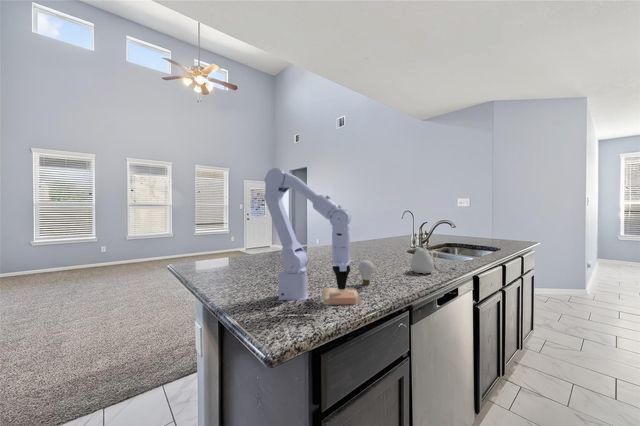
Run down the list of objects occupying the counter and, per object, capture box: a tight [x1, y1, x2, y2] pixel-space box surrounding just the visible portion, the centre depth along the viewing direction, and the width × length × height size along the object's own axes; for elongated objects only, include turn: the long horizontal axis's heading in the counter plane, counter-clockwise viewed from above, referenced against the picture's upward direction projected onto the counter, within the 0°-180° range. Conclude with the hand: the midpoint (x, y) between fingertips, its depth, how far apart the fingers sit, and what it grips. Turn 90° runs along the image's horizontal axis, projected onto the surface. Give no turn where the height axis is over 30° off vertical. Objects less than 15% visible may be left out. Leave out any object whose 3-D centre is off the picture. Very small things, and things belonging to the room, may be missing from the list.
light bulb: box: [358, 259, 375, 286], centre depth 104 cm, size 6×6×10 cm
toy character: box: [410, 246, 435, 275], centre depth 126 cm, size 10×10×12 cm
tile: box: [329, 292, 357, 305], centre depth 85 cm, size 8×2×6 cm
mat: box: [322, 286, 363, 306], centre depth 91 cm, size 12×18×1 cm, turn 0°
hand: (341, 288), depth 87 cm, fingers closed
